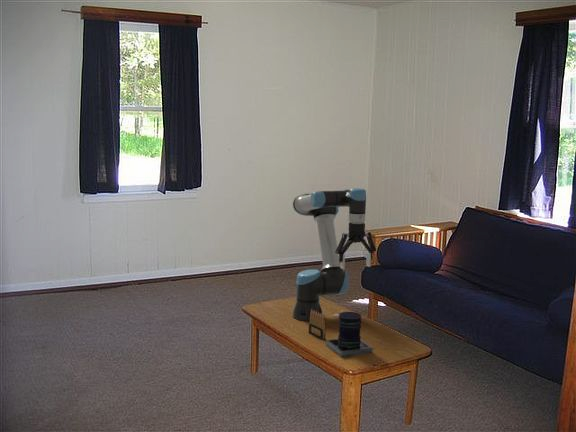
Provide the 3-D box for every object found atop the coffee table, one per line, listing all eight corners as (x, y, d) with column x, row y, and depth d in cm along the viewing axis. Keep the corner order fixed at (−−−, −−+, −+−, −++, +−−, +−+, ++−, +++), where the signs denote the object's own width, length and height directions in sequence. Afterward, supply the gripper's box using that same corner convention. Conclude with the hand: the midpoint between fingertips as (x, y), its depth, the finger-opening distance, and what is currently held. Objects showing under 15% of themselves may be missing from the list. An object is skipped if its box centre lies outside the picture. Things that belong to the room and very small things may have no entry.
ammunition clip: (325, 339, 302) (326, 314, 300) (322, 340, 301) (323, 314, 299) (311, 332, 311) (312, 308, 309) (308, 333, 310) (309, 308, 308)
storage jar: (354, 342, 296) (356, 310, 293) (363, 350, 287) (365, 317, 284) (334, 345, 293) (335, 312, 290) (342, 353, 284) (343, 319, 281)
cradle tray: (325, 345, 294) (326, 340, 293) (355, 341, 300) (355, 336, 299) (341, 357, 280) (341, 351, 280) (372, 352, 286) (372, 347, 286)
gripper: (336, 225, 294) (335, 271, 297) (384, 222, 303) (382, 267, 307) (328, 222, 301) (327, 267, 304) (376, 219, 310) (374, 263, 314)
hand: (355, 267), depth 306 cm, fingers open, 13 cm apart
